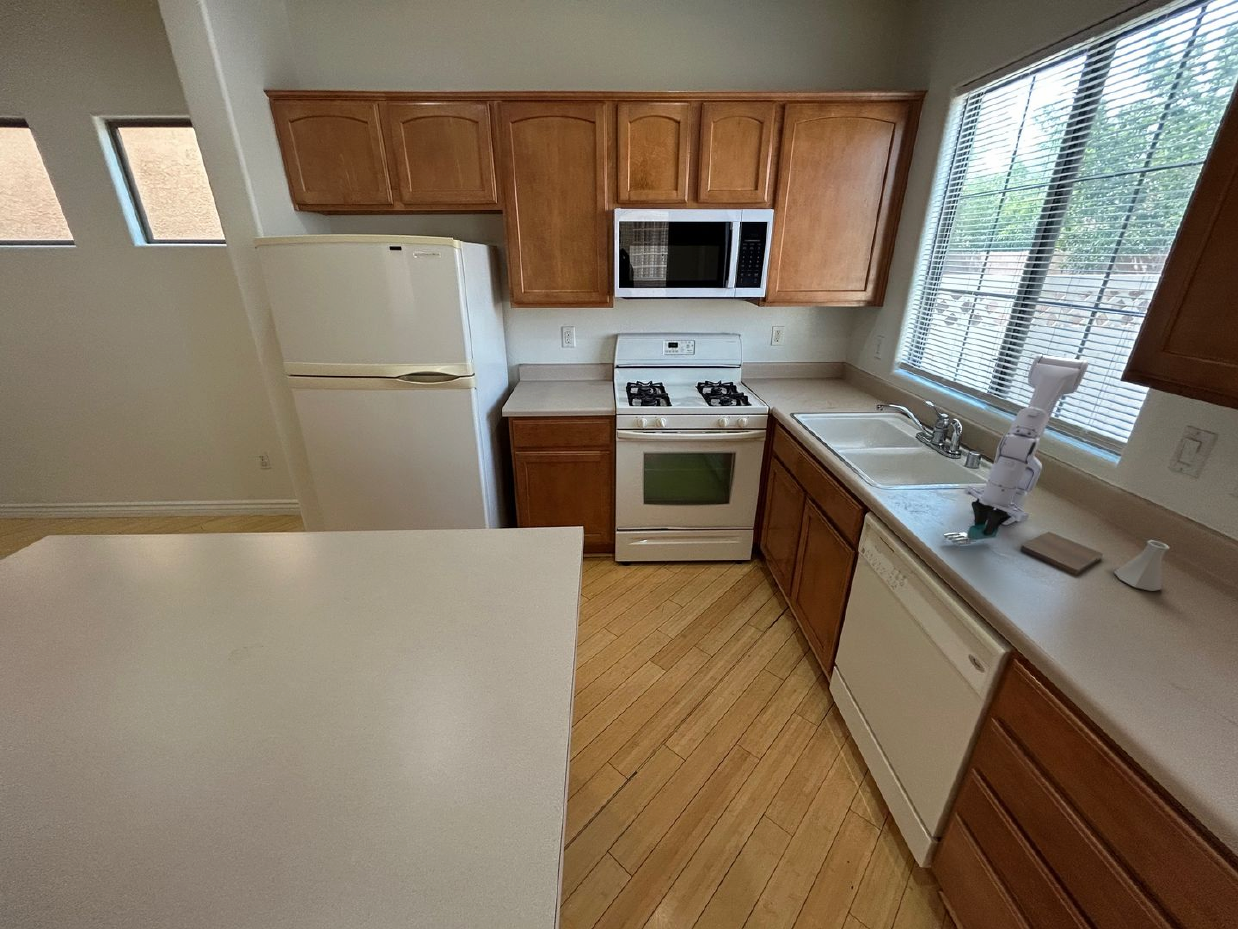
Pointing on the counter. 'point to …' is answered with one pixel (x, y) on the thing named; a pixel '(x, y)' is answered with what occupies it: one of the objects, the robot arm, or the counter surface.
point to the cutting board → (1061, 552)
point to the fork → (969, 535)
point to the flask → (1144, 567)
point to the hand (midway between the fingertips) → (982, 531)
